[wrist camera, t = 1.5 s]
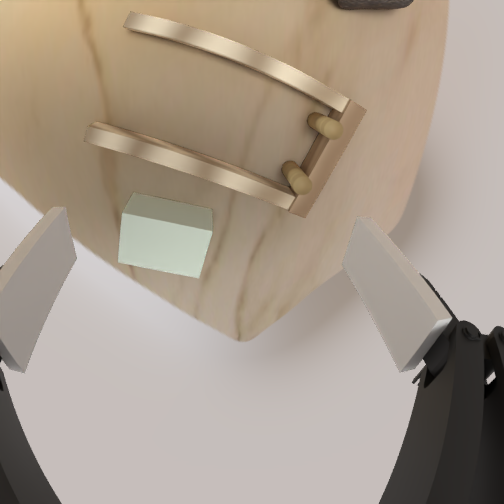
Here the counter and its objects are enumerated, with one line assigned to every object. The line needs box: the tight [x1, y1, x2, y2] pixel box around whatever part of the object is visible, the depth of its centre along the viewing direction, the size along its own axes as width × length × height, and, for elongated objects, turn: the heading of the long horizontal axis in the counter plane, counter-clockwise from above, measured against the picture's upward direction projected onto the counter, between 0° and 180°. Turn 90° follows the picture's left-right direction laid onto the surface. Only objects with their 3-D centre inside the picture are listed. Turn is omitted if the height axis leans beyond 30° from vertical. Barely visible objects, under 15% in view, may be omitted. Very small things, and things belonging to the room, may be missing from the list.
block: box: [118, 192, 213, 278], centre depth 30 cm, size 9×6×5 cm, turn 71°
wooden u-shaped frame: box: [84, 12, 367, 218], centre depth 24 cm, size 24×13×5 cm, turn 65°
